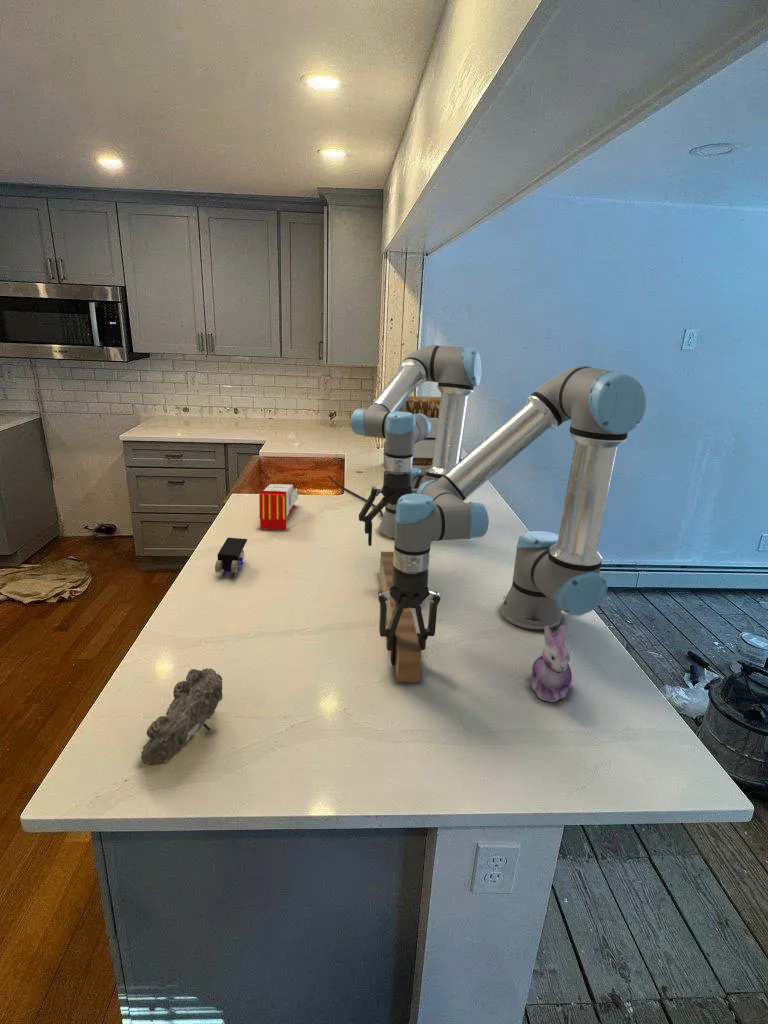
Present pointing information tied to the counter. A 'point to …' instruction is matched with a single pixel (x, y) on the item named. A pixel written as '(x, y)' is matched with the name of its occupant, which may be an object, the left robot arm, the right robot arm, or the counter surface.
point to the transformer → (426, 447)
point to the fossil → (183, 716)
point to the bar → (401, 629)
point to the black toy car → (230, 556)
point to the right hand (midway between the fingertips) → (404, 661)
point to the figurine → (552, 668)
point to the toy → (276, 505)
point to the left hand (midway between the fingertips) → (393, 544)
